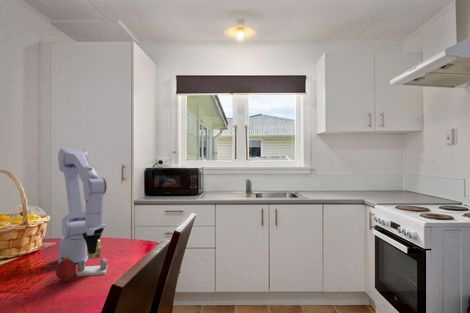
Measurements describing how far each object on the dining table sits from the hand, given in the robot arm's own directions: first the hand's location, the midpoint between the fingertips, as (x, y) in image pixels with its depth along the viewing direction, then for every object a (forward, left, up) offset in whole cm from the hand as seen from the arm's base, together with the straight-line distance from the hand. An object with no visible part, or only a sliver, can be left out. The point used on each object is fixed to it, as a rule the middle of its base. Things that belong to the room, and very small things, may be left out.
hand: (93, 251), depth 111 cm
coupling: (0, 0, -2) cm, 2 cm away
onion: (-7, -8, -7) cm, 13 cm away
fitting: (0, 0, -7) cm, 7 cm away
